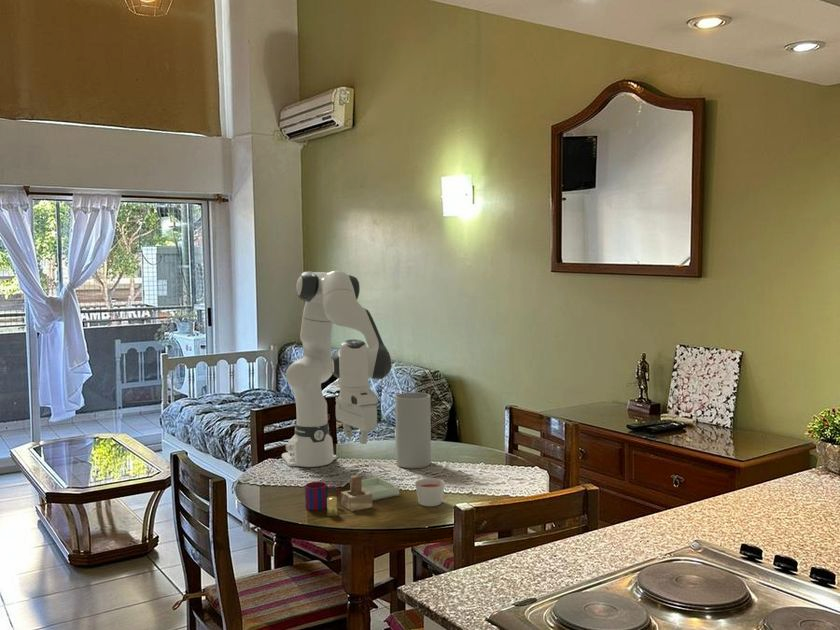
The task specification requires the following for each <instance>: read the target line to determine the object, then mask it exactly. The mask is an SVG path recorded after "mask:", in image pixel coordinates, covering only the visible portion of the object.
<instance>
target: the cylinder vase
mask: <svg viewBox="0 0 840 630" xmlns="http://www.w3.org/2000/svg"><path fill="white" fill-rule="evenodd" d="M394 402H395V404H394V406H395V460H396V461H395V462H396V465H397V466H398V467H400V468H402V469H413V470H414V469H423V468H426V467H428V466H430V465H431V463H432V441H431V440H432V433H431V431H432V428H431V425H432V424H431V394H429V393H426V392H425V393H424V392H418V391H417V392H403V393H398V394H395V399H394Z"/></svg>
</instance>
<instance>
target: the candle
mask: <svg viewBox="0 0 840 630" xmlns="http://www.w3.org/2000/svg"><path fill="white" fill-rule="evenodd" d="M414 484H415V490H416V496H417V500H418V501H417V502H418V504H419V505H421V506H423V507H436V506H439V505H441V504H442V501H443V497H444V490H445V484H446V481H444V480H443V479H440V478H433V477H432V478H421V479H418V480H416V481H415V482H414Z"/></svg>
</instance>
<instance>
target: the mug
mask: <svg viewBox="0 0 840 630" xmlns="http://www.w3.org/2000/svg"><path fill="white" fill-rule="evenodd" d="M330 489H334V490H335V492H336V496H335V497H337V499H338V498H339V490H338V487H336V486H335V485H334V486H332V485H331V486H328V483H327V482H325V481H311V482H307V483H306V484H304V501H305V506H304V507H305V509H306V510H308V511H314V510H316V511H322V510H326V509H327V497H329V496H328V493H329V492H328V491H329V490H330ZM325 508H326V509H325Z"/></svg>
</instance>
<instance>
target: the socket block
mask: <svg viewBox="0 0 840 630" xmlns="http://www.w3.org/2000/svg"><path fill="white" fill-rule="evenodd" d="M340 505H341V506H342V507H344V508H345V509H347V510H348V509H349V512H355V510H356V511H360V510H365V509H369V508H373V500H372V494H371V493H369V492H368V491H366V490H364V489H362V495H357V496H352V495H351V490H350V489H349V490H344V491H340Z"/></svg>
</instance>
